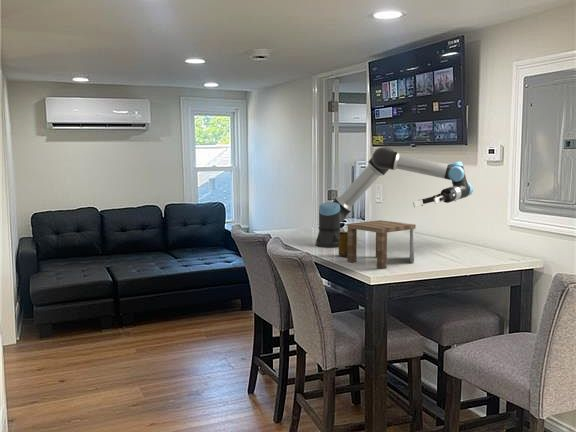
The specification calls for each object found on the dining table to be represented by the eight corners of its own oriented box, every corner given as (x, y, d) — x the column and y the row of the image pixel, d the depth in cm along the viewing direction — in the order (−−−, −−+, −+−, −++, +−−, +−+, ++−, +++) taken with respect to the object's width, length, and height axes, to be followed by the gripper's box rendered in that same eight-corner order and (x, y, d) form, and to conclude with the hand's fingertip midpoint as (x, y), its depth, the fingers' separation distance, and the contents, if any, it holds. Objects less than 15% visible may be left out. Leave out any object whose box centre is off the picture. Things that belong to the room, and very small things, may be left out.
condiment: (343, 254, 280) (343, 230, 279) (357, 256, 275) (357, 232, 273) (334, 256, 275) (334, 232, 274) (348, 258, 269) (348, 233, 268)
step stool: (381, 269, 243) (382, 228, 241) (347, 261, 260) (347, 223, 258) (414, 263, 256) (415, 224, 254) (379, 256, 273) (380, 220, 271)
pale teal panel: (409, 262, 255) (410, 230, 254) (409, 256, 270) (410, 226, 268) (413, 262, 255) (414, 230, 253) (414, 256, 269) (414, 226, 268)
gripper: (472, 198, 279) (445, 206, 267) (433, 204, 300) (407, 213, 287) (468, 183, 279) (442, 191, 267) (430, 191, 300) (404, 199, 287)
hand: (424, 202), depth 277 cm, fingers open, 13 cm apart
